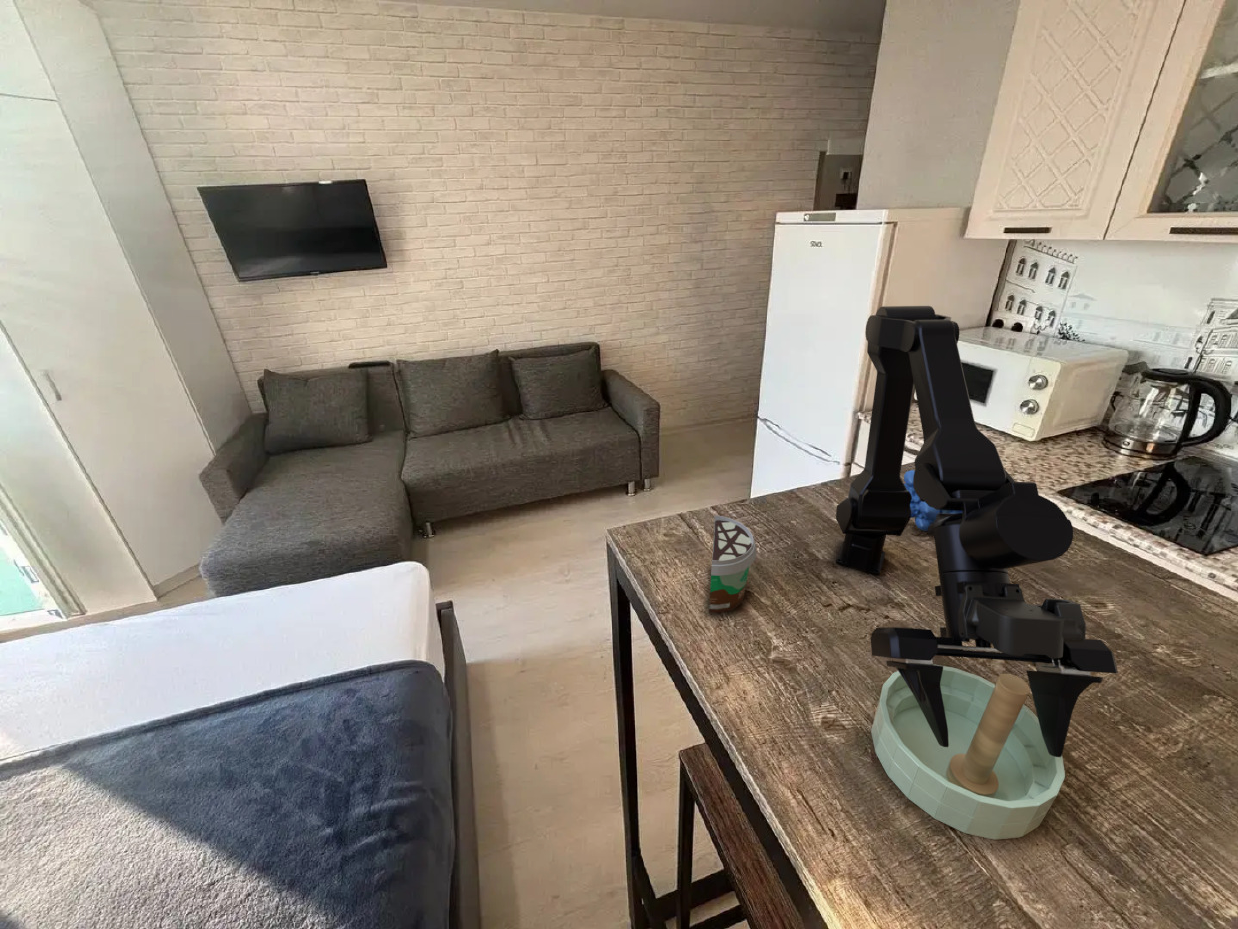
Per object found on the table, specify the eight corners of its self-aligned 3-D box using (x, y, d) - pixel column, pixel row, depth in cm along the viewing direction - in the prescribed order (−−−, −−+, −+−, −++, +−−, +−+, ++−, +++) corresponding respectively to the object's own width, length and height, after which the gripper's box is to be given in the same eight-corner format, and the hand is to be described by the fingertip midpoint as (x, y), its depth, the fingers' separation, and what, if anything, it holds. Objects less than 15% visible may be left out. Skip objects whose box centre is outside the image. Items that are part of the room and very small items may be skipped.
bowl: (881, 678, 62) (891, 645, 60) (1037, 737, 55) (1055, 702, 52) (859, 786, 51) (869, 751, 48) (1051, 880, 43) (1075, 844, 41)
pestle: (947, 755, 53) (986, 658, 46) (993, 775, 51) (1041, 676, 44) (945, 789, 50) (986, 690, 43) (994, 812, 48) (1045, 711, 41)
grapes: (881, 530, 89) (895, 470, 84) (891, 513, 94) (905, 455, 89) (958, 554, 83) (979, 490, 77) (965, 535, 87) (985, 473, 82)
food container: (753, 625, 71) (759, 567, 66) (708, 619, 72) (711, 563, 67) (750, 569, 81) (756, 516, 77) (711, 565, 83) (714, 513, 78)
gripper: (906, 559, 44) (929, 763, 39) (1149, 570, 42) (1204, 788, 37) (863, 573, 55) (876, 735, 50) (1054, 582, 52) (1088, 753, 47)
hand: (998, 751), depth 46 cm, fingers open, 9 cm apart
